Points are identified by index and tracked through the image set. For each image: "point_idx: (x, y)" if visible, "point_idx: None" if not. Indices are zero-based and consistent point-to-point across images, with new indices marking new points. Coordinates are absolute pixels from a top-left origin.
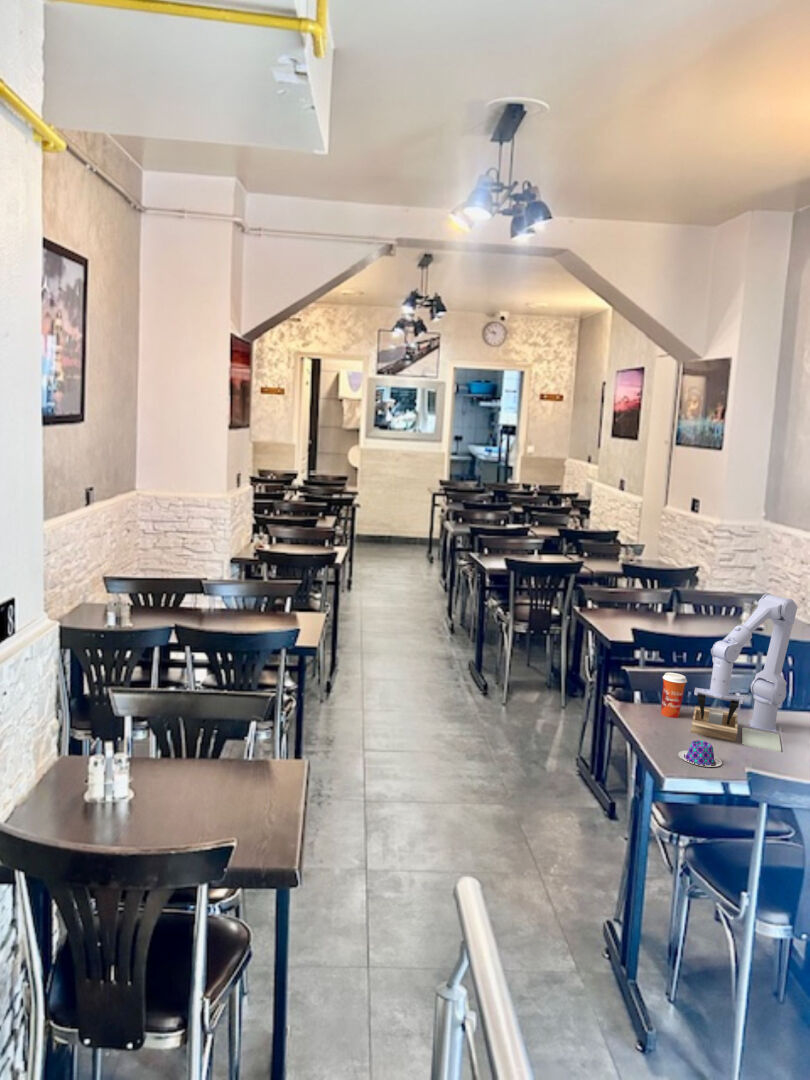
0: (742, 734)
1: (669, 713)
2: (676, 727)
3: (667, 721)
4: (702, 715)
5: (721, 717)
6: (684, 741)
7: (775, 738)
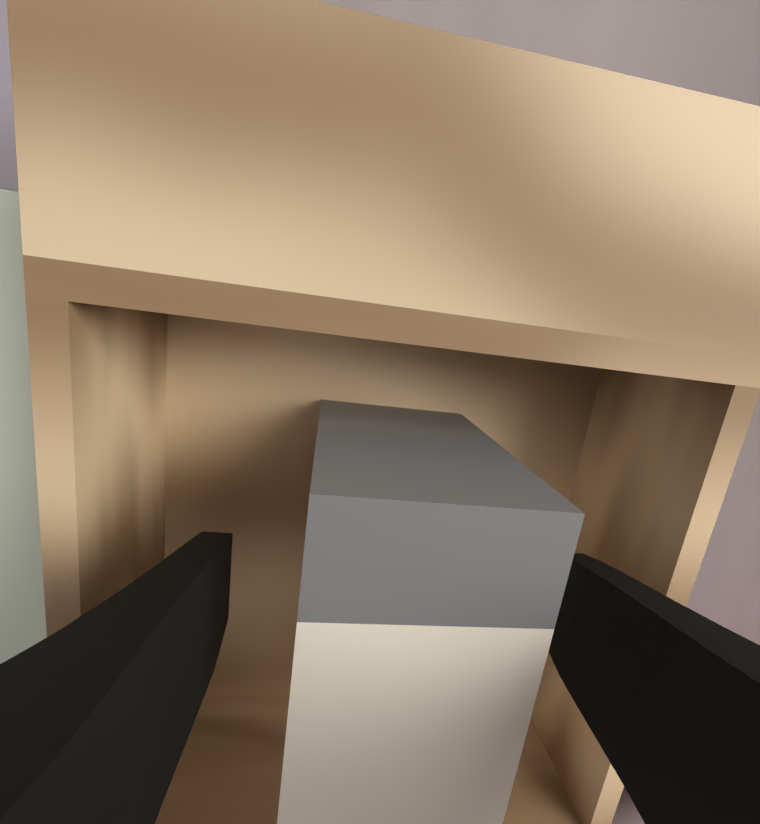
0: None
1: None
2: None
3: (743, 591)
4: (617, 576)
5: (335, 489)
6: (749, 15)
7: None
